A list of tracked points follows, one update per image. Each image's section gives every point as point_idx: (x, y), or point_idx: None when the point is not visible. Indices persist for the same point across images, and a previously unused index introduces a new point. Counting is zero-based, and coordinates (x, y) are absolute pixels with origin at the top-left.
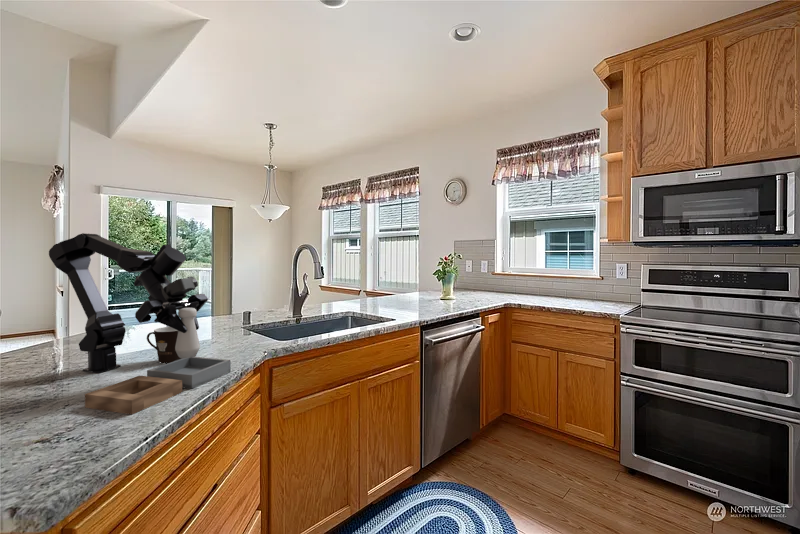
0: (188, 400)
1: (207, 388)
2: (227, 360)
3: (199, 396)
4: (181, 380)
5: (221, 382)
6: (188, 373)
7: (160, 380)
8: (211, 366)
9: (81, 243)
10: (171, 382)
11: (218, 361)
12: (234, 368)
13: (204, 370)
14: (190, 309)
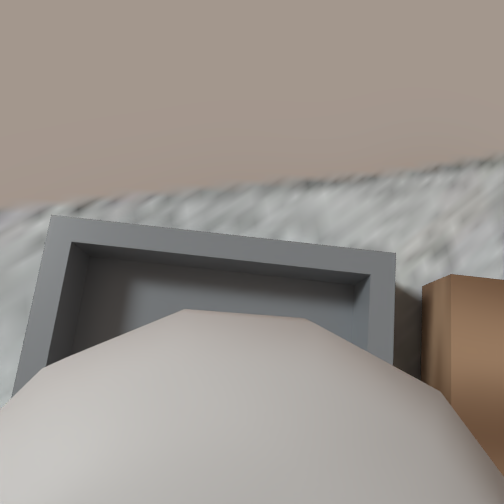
0: (493, 192)
1: (343, 203)
2: (69, 225)
3: (441, 175)
4: (455, 275)
5: (251, 188)
6: (374, 295)
7: (489, 400)
8: (214, 248)
9: None
10: (499, 305)
11: (64, 297)
12: (5, 256)
13: (293, 243)
14: (367, 407)
